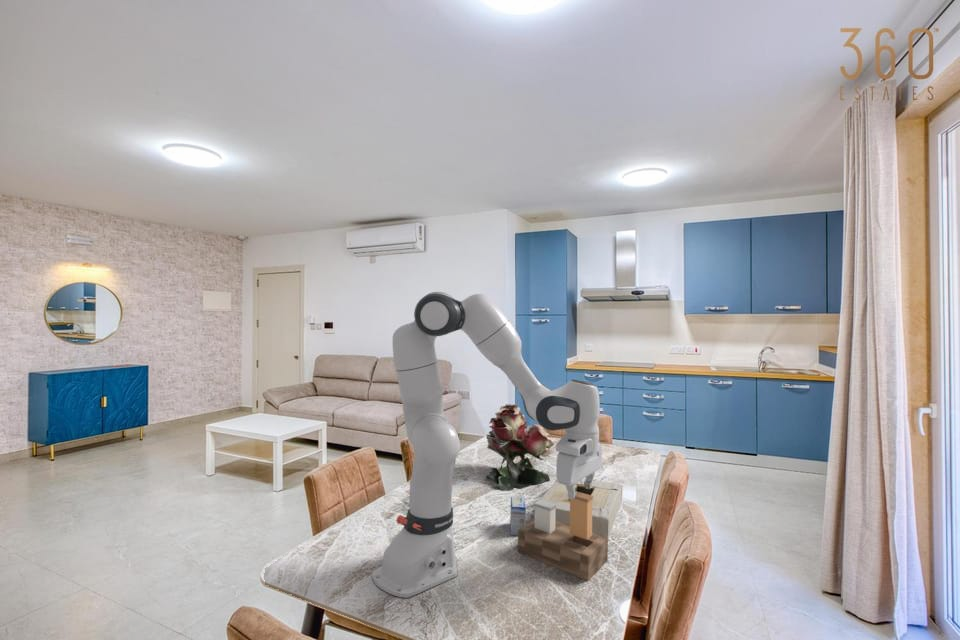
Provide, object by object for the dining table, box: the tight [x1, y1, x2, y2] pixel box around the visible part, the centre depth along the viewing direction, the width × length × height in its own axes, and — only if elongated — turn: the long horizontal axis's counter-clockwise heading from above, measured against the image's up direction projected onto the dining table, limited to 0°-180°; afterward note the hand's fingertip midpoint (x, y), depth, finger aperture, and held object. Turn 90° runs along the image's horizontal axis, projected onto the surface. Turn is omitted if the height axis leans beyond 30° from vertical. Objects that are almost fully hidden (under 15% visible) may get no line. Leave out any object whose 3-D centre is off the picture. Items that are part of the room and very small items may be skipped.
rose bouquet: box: [484, 403, 555, 492], centre depth 181 cm, size 26×29×30 cm
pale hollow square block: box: [537, 478, 623, 540], centre depth 147 cm, size 23×8×32 cm
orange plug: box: [570, 492, 593, 540], centre depth 116 cm, size 3×5×10 cm, turn 51°
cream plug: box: [533, 499, 556, 534], centre depth 123 cm, size 3×5×10 cm, turn 51°
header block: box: [517, 519, 609, 582], centre depth 119 cm, size 12×21×6 cm, turn 51°
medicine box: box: [509, 496, 527, 536], centre depth 134 cm, size 8×4×9 cm, turn 178°
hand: (580, 493), depth 116 cm, fingers open, 8 cm apart
